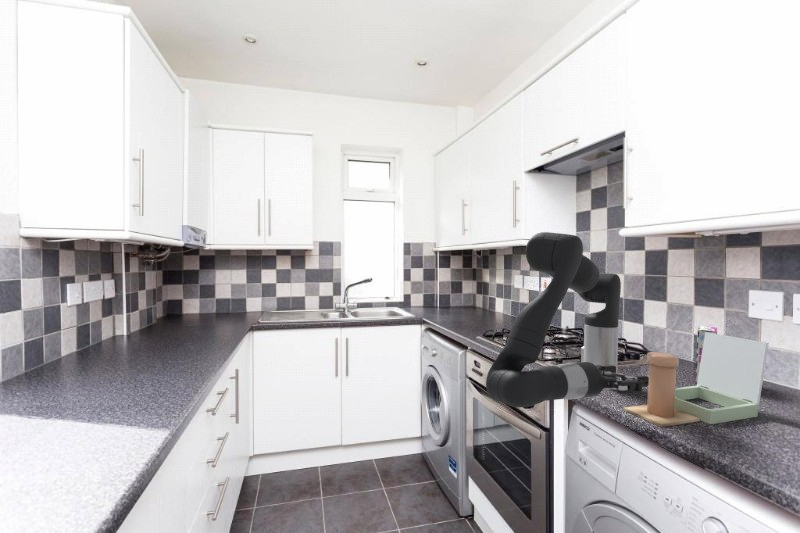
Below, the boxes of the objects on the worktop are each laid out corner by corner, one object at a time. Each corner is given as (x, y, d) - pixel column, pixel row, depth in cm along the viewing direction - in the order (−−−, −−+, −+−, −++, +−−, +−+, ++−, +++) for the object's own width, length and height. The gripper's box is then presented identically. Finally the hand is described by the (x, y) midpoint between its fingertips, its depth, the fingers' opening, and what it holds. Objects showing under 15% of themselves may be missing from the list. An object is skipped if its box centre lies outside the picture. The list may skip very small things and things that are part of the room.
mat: (623, 409, 96) (623, 407, 96) (659, 405, 99) (659, 402, 99) (661, 427, 86) (661, 424, 86) (699, 420, 90) (699, 418, 90)
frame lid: (696, 386, 106) (698, 332, 106) (705, 385, 107) (707, 331, 107) (756, 405, 93) (759, 343, 92) (766, 403, 94) (768, 342, 93)
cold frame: (653, 402, 101) (654, 390, 101) (697, 396, 106) (697, 385, 106) (710, 424, 88) (710, 411, 88) (757, 416, 93) (757, 404, 93)
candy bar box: (715, 386, 115) (717, 331, 115) (694, 382, 118) (696, 329, 118) (715, 377, 124) (717, 326, 123) (696, 374, 127) (697, 324, 127)
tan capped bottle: (638, 409, 95) (641, 352, 94) (657, 406, 97) (660, 351, 96) (662, 419, 89) (665, 359, 88) (682, 416, 91) (685, 358, 90)
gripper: (600, 372, 78) (660, 367, 82) (552, 355, 91) (605, 351, 96) (599, 409, 78) (658, 402, 83) (551, 386, 91) (605, 381, 96)
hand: (630, 375), depth 89 cm, fingers open, 8 cm apart
